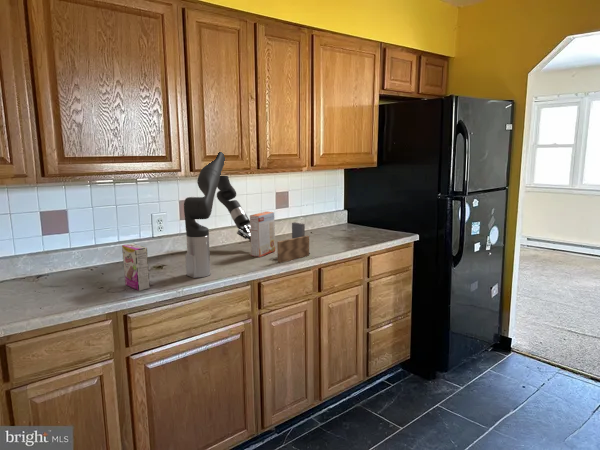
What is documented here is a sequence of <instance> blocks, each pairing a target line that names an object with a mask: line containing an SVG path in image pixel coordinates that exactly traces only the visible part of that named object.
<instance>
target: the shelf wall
mask: <svg viewBox="0 0 600 450" xmlns="http://www.w3.org/2000/svg"><path fill="white" fill-rule="evenodd" d="M276 244H277V246H276V247H277V263H279V264H281V263H284V262H285V263H286V262H289V261H292V260H296V259H301V258H304V257H309V256H310V254H309V253H310V235H305V236H302V237H298V238H293V239H292V238H288V239H284V240H279V241H277V243H276Z"/></svg>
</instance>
